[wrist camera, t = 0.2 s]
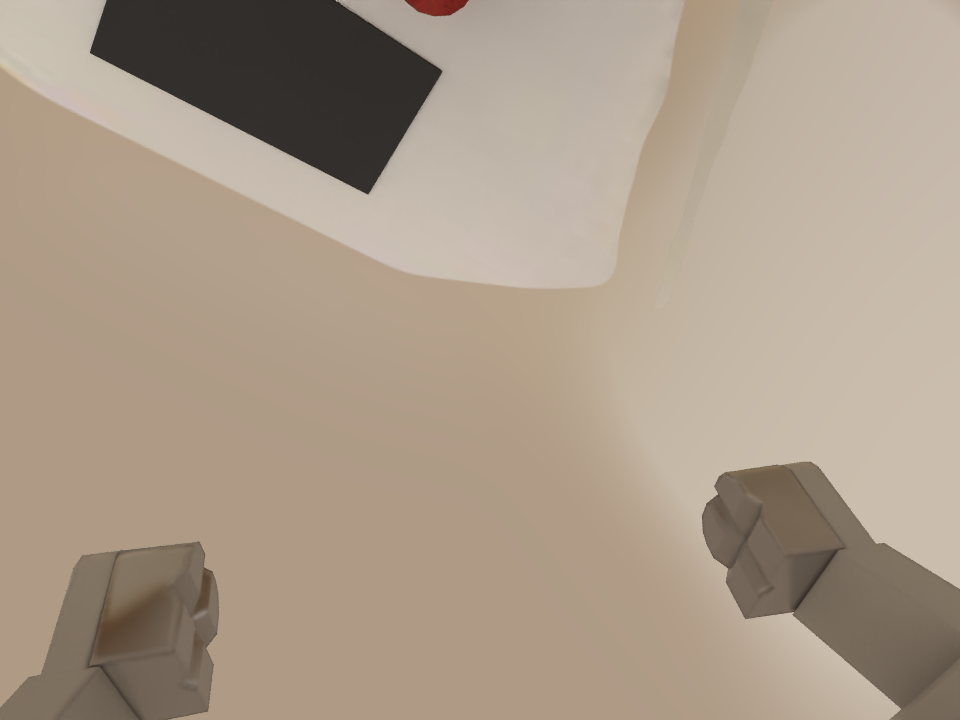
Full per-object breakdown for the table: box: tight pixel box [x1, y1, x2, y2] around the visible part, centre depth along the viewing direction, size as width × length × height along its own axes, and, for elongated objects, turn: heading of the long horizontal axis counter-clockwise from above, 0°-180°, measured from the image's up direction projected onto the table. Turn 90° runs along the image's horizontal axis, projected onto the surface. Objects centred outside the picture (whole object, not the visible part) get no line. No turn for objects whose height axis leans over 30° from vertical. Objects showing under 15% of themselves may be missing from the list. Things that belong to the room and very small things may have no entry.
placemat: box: [90, 0, 442, 194], centre depth 49 cm, size 22×12×1 cm, turn 55°
